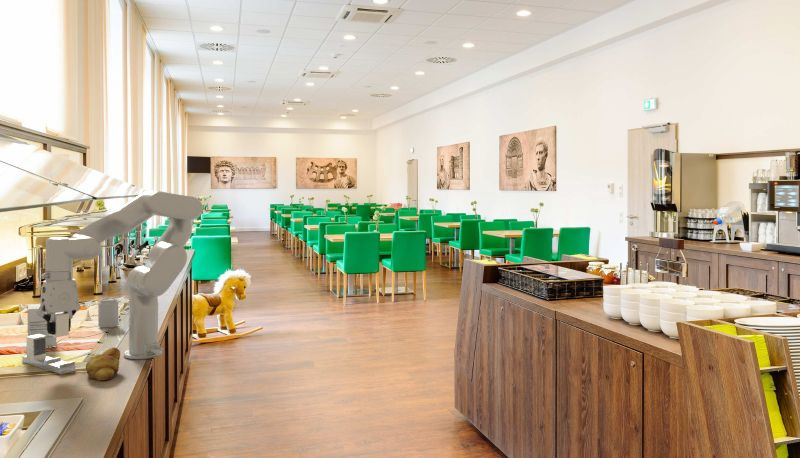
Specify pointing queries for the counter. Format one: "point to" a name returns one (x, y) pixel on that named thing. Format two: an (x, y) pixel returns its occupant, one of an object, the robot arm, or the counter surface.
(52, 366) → the rail
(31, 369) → the counter surface
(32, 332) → the supplement box
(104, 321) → the grey upright block
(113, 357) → the bread roll
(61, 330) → the finger
